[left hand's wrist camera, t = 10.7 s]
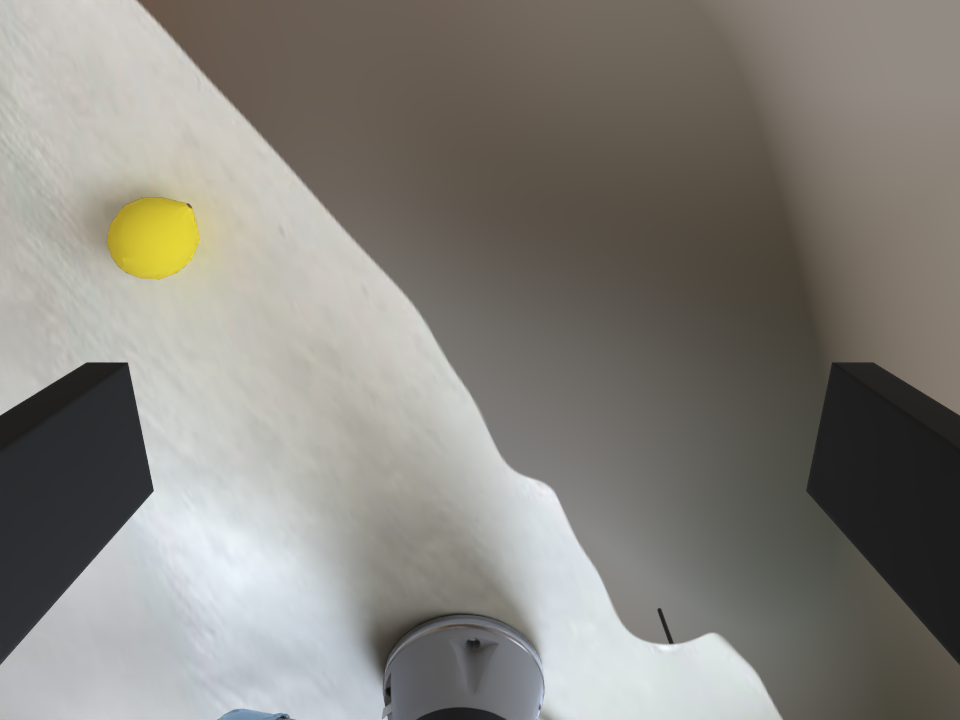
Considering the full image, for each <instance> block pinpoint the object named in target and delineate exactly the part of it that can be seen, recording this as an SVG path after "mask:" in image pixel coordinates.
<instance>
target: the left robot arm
mask: <svg viewBox="0 0 960 720" xmlns="http://www.w3.org/2000/svg"><path fill="white" fill-rule="evenodd" d="M153 491H154V490H153V485H152V480H151V475H150V470H149V465H148V460H147V455H146V450H145V445H144V440H143V435H142V430H141V425H140V420H139V415H138V410H137V405H136V401H135V396H134V391H133V386H132V381H131V376H130V371H129V366H128V363H85V364H84V365H82V366H80V367H79V368H77V369H75V370H74V371H72V372H70V373H69V374H67V375H66V376H64V377H62V378H61V379H59V380H57V381H56V382H54V383H53V384H51V385H49V386H48V387H46V388H44V389H43V390H41V391H39V392H38V393H36V394H35V395H33V396H31V397H30V398H28V399H26V400H25V401H23V402H22V403H20V404H18V405H17V406H15V407H13V408H12V409H10V410H9V411H7V412H5V413H4V414H2V415H0V665H1V663H2V662H3V661H4V660H5V659H6V658H7V657H8V655H9V654H10V653H11V652H12V651H13V650H14V649H15V648H16V646H17V645H18V644H19V643H20V642H21V641H22V640H23V638H24V637H25V636H26V635H27V634H28V633H29V632H30V631H31V629H32V628H33V627H34V626H35V625H36V624H37V623H38V621H39V620H40V619H41V618H42V617H43V616H44V615H45V614H46V612H47V611H48V610H49V609H50V608H51V607H52V606H53V604H54V603H55V602H56V601H57V600H58V599H59V598H60V597H61V595H62V594H63V593H64V592H65V591H66V590H67V589H68V587H69V586H70V585H71V584H72V583H73V582H74V581H75V580H76V578H77V577H78V576H79V575H80V574H81V573H82V572H83V570H84V569H85V568H86V567H87V566H88V565H89V564H90V563H91V561H92V560H93V559H94V558H95V557H96V556H97V555H98V553H99V552H100V551H101V550H102V549H103V548H104V547H105V546H106V544H107V543H108V542H109V541H110V540H111V539H112V538H113V536H114V535H115V534H116V533H117V532H118V531H119V530H120V529H121V527H122V526H123V525H124V524H125V523H126V522H127V521H128V520H129V518H130V517H131V516H132V515H133V514H134V513H135V512H136V510H137V509H138V508H139V507H140V506H141V505H142V504H143V503H144V501H145V500H146V499H147V498H148V497H149V496H150V495H151V493H152V492H153ZM806 491H807V492H808V493H809V495H810V496H811V497H812V498H813V499H814V500H815V501H816V503H817V504H818V505H819V506H820V507H821V508H822V509H823V510H824V512H825V513H826V514H827V515H828V516H829V517H830V518H831V520H832V521H833V522H834V523H835V524H836V525H837V526H838V527H839V529H840V530H841V531H842V532H843V533H844V534H845V535H846V537H847V538H848V539H849V540H850V541H851V542H852V543H853V544H854V546H855V547H856V548H857V549H858V550H859V551H860V552H861V553H862V555H863V556H864V557H865V558H866V559H867V560H868V561H869V562H870V564H871V565H872V566H873V567H874V568H875V569H876V570H877V572H878V573H879V574H880V575H881V576H882V577H883V578H884V580H885V581H886V582H887V583H888V584H889V585H890V586H891V587H892V589H893V590H894V591H895V592H896V593H897V594H898V595H899V597H900V598H901V599H902V600H903V601H904V602H905V603H906V604H907V606H908V607H909V608H910V609H911V610H912V611H913V612H914V614H915V615H916V616H917V617H918V618H919V619H920V620H921V621H922V623H923V624H924V625H925V626H926V627H927V628H928V629H929V631H930V632H931V633H932V634H933V635H934V636H935V637H936V638H937V639H938V641H939V642H940V643H941V644H942V645H943V646H944V648H945V649H946V650H947V651H948V652H949V653H950V654H951V655H952V657H953V658H954V659H955V660H956V661H957V662H958V663H959V664H960V415H958V414H956V413H955V412H953V411H951V410H950V409H948V408H947V407H945V406H943V405H942V404H940V403H938V402H937V401H935V400H934V399H932V398H930V397H929V396H927V395H925V394H924V393H922V392H921V391H919V390H917V389H916V388H914V387H912V386H911V385H909V384H907V383H906V382H904V381H903V380H901V379H899V378H898V377H896V376H894V375H893V374H891V373H890V372H888V371H886V370H885V369H883V368H881V367H880V366H878V365H876V364H875V363H832V366H831V371H830V376H829V381H828V386H827V391H826V396H825V401H824V406H823V410H822V416H821V421H820V425H819V430H818V435H817V440H816V445H815V450H814V455H813V460H812V465H811V470H810V475H809V480H808V485H807V490H806ZM657 611H658V614H659V617H660V620H661V622H662V625H663V628H664V631H665V633H666V636H667V639H668V642H669V644H670V645H671V644H672V645H674V642H673V640H672V637H671V634H670V631H669V629H668V626H667V623H666V621H665V618H664V615H663V612H662V609H661V608H658V609H657ZM383 695H384V702H385V708H384V709H383V715H382V719H383V718H384V717H386V716H387V717H388V720H537V719H538V716H539V714H540V710H541V707H542V703H543V698H544V679H543V670H542V665H541V661H540V658H539V656H538V654H537V652H536V650H535V649H534V647H533V646H532V645H531V643H530V642H529V641H528V640H527V639H526V638H525V637H524V636H523V635H522V634H520V633H519V632H518V631H516V630H515V629H513V628H512V627H510V626H508V625H506V624H504V623H502V622H499V621H497V620H494V619H490V618H486V617H482V616H475V615H452V616H445V617H441V618H437V619H433V620H430V621H427V622H425V623H423V624H421V625H419V626H417V627H415V628H414V629H412V630H411V631H409V632H408V633H407V634H406V635H404V636H403V637H402V638H401V639H400V640H399V641H398V643H397V644H396V645H395V646H394V648H393V650H392V651H391V653H390V655H389V658H388V661H387V664H386V670H385V676H384V681H383ZM218 720H294V719H290V718H289V715H287V714H284V713H278V714H275V715H273V714H268V713H263V712H258V711H253V710H248V709H236V710H233V711H231V712H228V713H226V714H225V715H223V716H222V717H221V718H219V719H218Z"/></svg>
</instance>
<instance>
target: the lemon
mask: <svg viewBox="0 0 960 720" xmlns="http://www.w3.org/2000/svg"><path fill="white" fill-rule="evenodd" d="M198 243H199V234H198V227H197V223H196V220H195V216H194V213H193V210H192V207H191V205H190V204H188V203H183V202H179V201H174V200H170V199H167V198H163V197H151V198H141V199H139V200H136V201H134V202H132V203H129V204H127V205H125V206H124V207H123V208H122V209H121V210H120V212H119V213H118V215H117V216H116V217H115V219H114V220H113V222H112V223H111V224H110V226H109V231H108V237H107V245H108V248H109V251H110V254H111V257H112V258H113V260H114V261H115V262H116V264H117V266H118V267H120V268H121V269H122V270H123V271H125V272H126V273H129V274H131V275H134V276H136V277H139V278H147V279H162V278H164V277H167V276H170V275H173V274H176V273H177V272H179V271H180V270H181V269H182V268H183V267H184V266H185V265H186V264H188V263H189V262H190V261H191V259H192V257H193V255H194V253H195V250H196V248H197V245H198Z"/></svg>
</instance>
